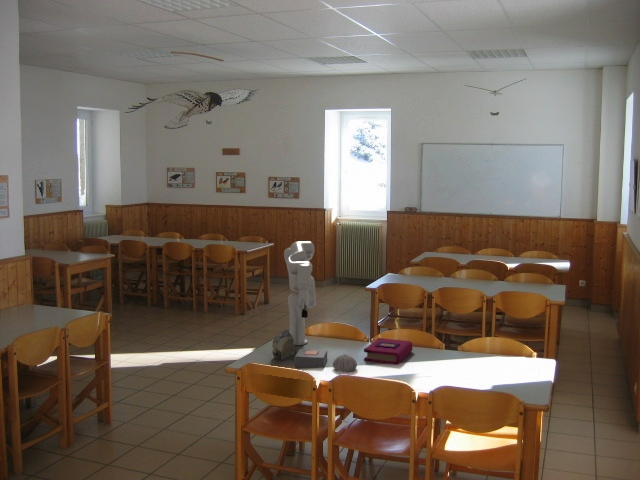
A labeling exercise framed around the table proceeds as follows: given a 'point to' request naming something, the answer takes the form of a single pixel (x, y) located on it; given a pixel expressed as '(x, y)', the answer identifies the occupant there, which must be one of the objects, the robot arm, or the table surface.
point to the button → (311, 353)
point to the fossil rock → (283, 345)
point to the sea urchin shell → (345, 363)
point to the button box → (311, 358)
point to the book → (388, 351)
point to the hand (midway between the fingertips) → (304, 317)
